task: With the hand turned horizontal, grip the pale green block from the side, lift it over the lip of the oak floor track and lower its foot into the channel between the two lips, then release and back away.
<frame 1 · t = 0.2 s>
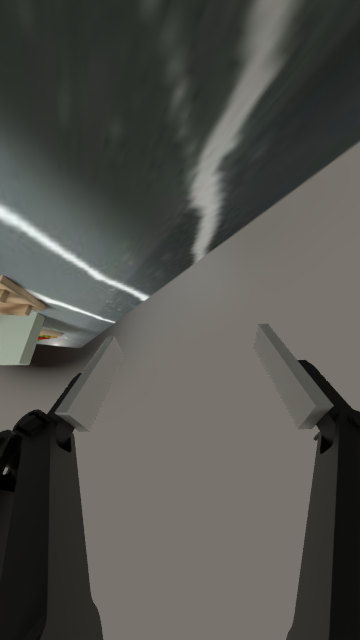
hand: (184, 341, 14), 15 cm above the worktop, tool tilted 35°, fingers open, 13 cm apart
pizza slice: (36, 332, 60), on the worktop
pale green block: (21, 314, 42), on the worktop
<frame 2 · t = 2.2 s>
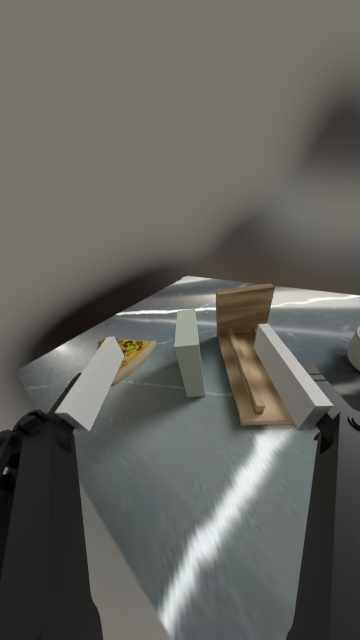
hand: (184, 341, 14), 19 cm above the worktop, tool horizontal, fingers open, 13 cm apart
pizza slice: (119, 353, 43), on the worktop
pale green block: (194, 374, 32), on the worktop
track: (253, 366, 32), on the worktop
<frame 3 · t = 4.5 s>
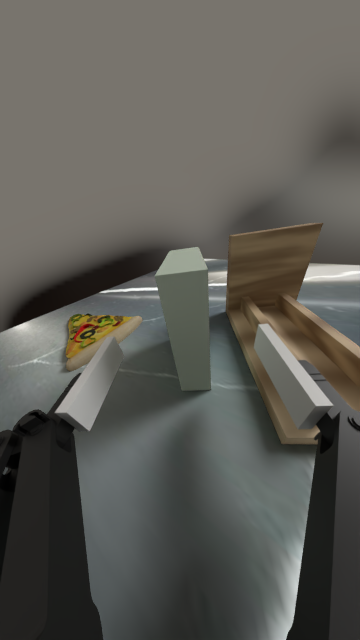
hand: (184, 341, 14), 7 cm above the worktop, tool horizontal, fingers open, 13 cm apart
pizza slice: (92, 332, 32), on the worktop
pale green block: (194, 357, 21), on the worktop
track: (285, 346, 21), on the worktop
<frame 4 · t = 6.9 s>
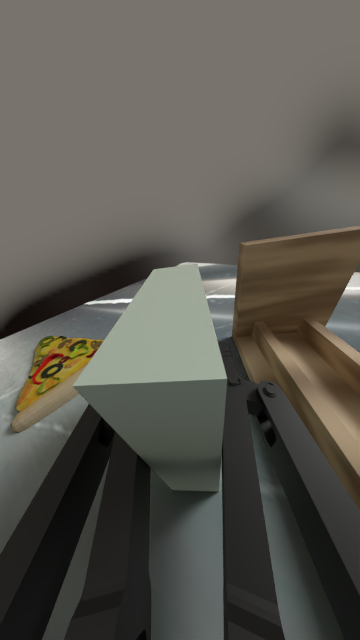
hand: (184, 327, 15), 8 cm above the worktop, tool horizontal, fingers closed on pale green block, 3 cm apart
pizza slice: (65, 360, 26), on the worktop
pale green block: (192, 416, 15), on the worktop, touching gripper
track: (321, 402, 14), on the worktop
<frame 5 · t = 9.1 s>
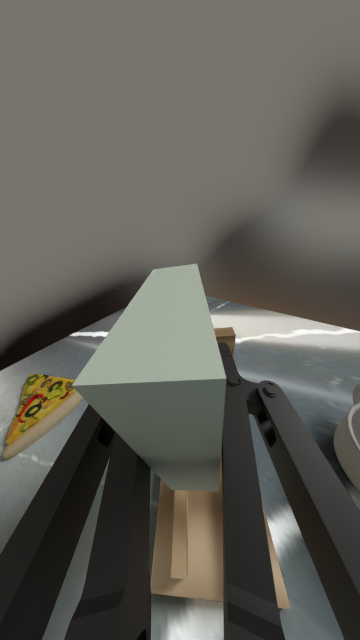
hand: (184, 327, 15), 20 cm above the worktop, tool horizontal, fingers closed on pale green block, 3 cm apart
pizza slice: (46, 396, 34), on the worktop
pale green block: (192, 416, 15), point 12 cm above the worktop, touching gripper
track: (204, 444, 22), on the worktop
when the fingers open (10 cm above the worktop, at t = 11.8 s): pale green block stays where it is, resting on track.
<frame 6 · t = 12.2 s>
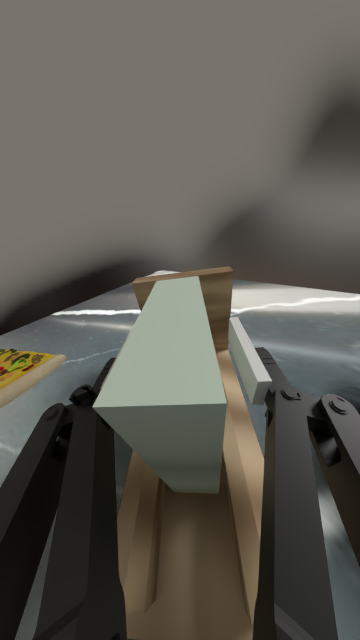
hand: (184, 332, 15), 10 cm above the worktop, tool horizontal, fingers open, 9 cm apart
pizza slice: (11, 372, 29), on the worktop
pale green block: (193, 420, 16), point 1 cm above the worktop, touching track
track: (193, 417, 17), on the worktop
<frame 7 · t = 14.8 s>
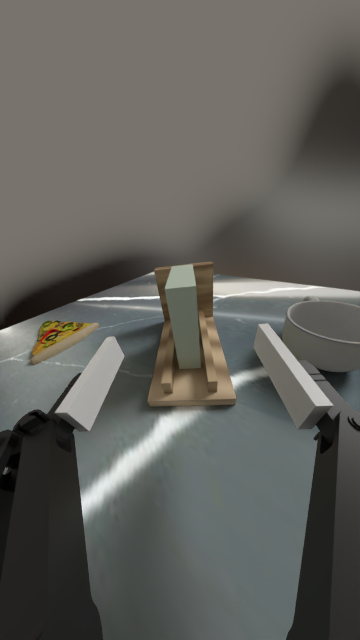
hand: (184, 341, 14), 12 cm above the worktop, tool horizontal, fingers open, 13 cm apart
pizza slice: (59, 335, 41), on the worktop
teacup: (310, 349, 26), on the worktop
pale green block: (189, 346, 28), point 1 cm above the worktop, touching track
track: (189, 348, 29), on the worktop
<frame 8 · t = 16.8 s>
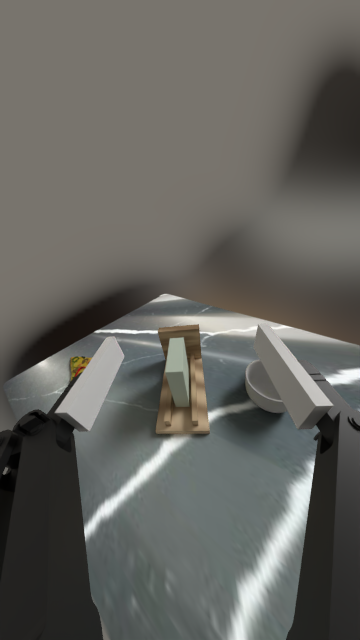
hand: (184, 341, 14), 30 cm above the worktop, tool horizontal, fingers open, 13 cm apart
pizza slice: (85, 369, 54), on the worktop
teacup: (265, 390, 38), on the worktop
pale green block: (183, 387, 40), point 1 cm above the worktop, touching track
track: (183, 387, 42), on the worktop
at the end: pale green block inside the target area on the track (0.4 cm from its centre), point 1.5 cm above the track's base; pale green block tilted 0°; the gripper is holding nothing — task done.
